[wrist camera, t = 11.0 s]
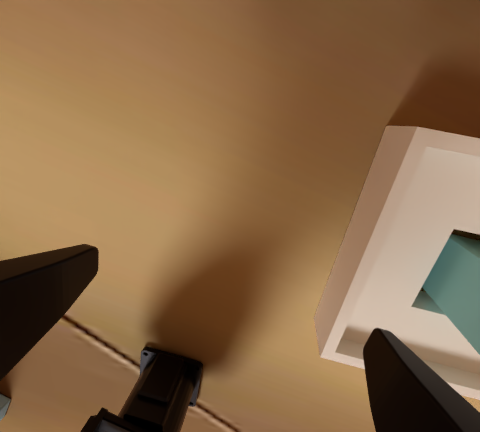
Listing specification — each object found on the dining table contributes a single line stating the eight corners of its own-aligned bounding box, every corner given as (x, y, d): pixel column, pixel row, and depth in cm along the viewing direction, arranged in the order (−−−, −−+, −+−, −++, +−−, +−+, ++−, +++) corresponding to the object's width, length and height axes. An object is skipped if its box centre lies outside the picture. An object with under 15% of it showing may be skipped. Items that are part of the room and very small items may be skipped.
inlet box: (507, 367, 21) (556, 420, 17) (313, 317, 22) (320, 357, 18) (662, 179, 15) (788, 197, 11) (386, 125, 16) (417, 126, 12)
